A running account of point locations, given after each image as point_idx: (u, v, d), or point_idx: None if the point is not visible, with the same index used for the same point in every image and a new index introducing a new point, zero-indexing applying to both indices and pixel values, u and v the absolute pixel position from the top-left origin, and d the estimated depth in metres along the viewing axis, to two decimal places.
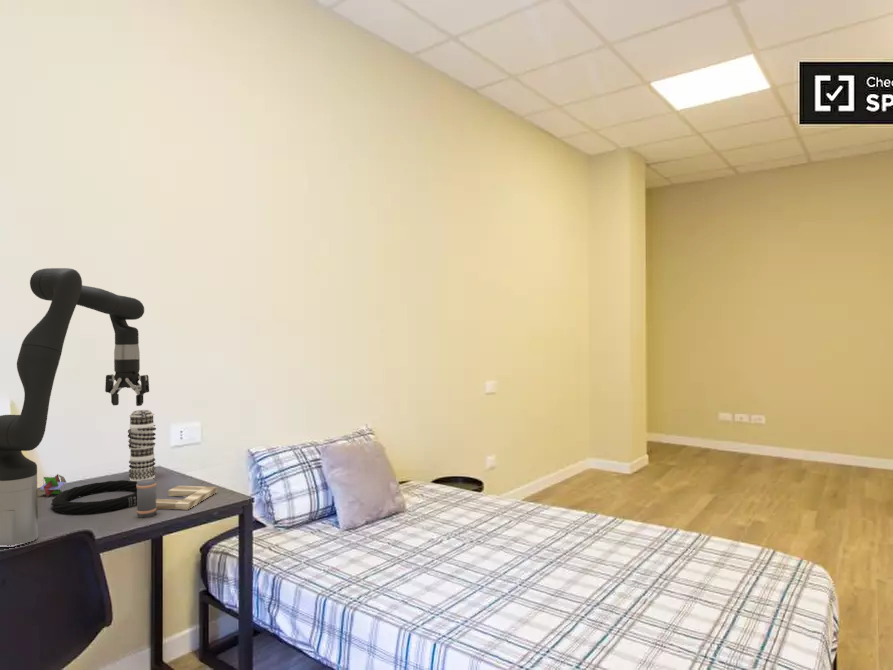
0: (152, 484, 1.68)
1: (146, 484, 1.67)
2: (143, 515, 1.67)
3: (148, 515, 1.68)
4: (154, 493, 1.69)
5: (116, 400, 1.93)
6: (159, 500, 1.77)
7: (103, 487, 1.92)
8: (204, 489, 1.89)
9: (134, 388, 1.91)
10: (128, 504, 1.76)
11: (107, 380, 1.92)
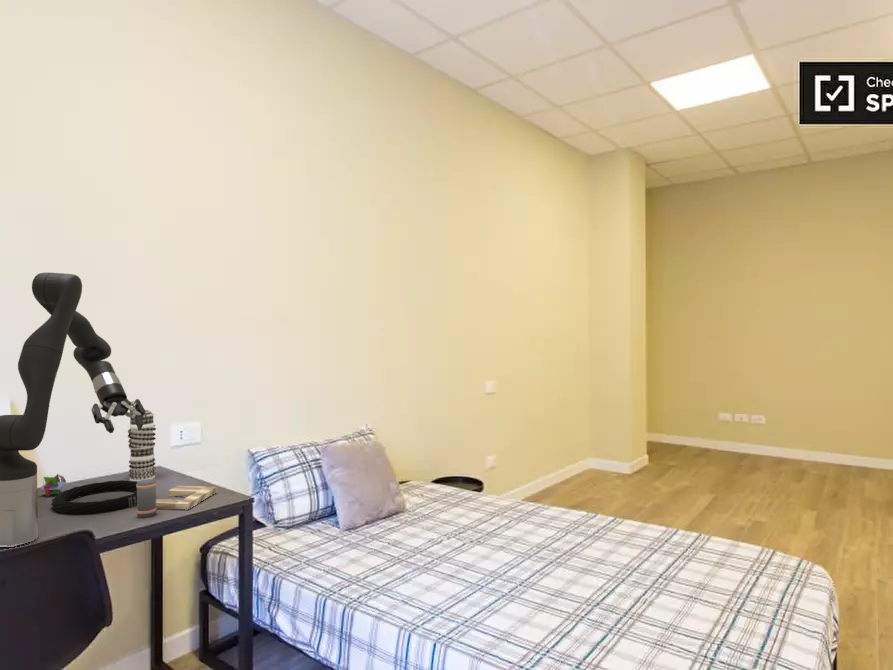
0: (152, 484, 1.68)
1: (146, 484, 1.67)
2: (143, 515, 1.67)
3: (148, 515, 1.68)
4: (154, 493, 1.69)
5: None
6: (159, 500, 1.77)
7: (103, 487, 1.92)
8: (204, 489, 1.89)
9: (133, 409, 1.80)
10: (128, 504, 1.76)
11: (97, 408, 1.73)
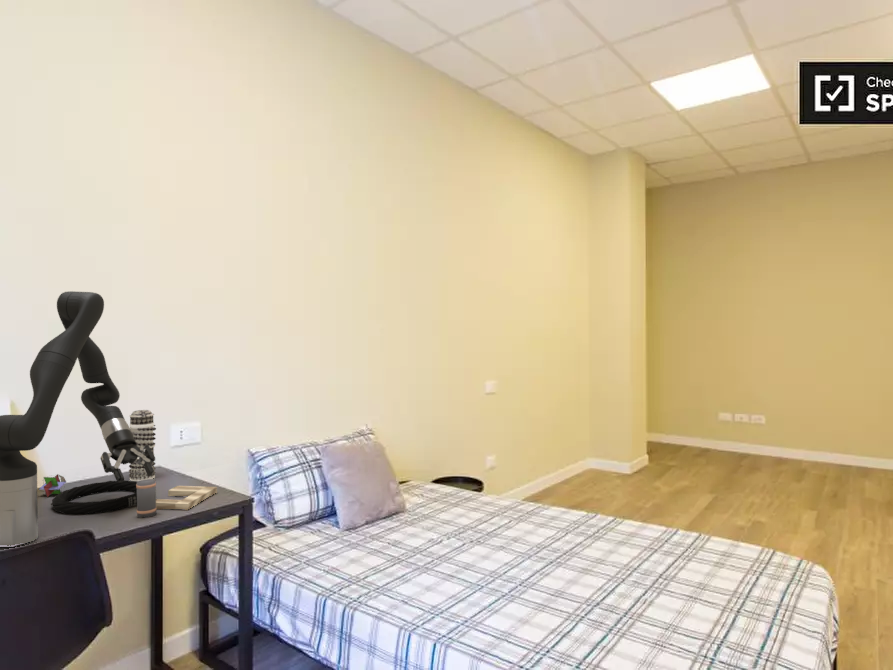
0: (152, 484, 1.68)
1: (146, 484, 1.67)
2: (143, 515, 1.67)
3: (148, 515, 1.68)
4: (154, 493, 1.69)
5: None
6: (159, 500, 1.77)
7: (103, 487, 1.92)
8: (204, 489, 1.89)
9: (143, 456, 1.77)
10: (128, 504, 1.76)
11: (106, 456, 1.70)
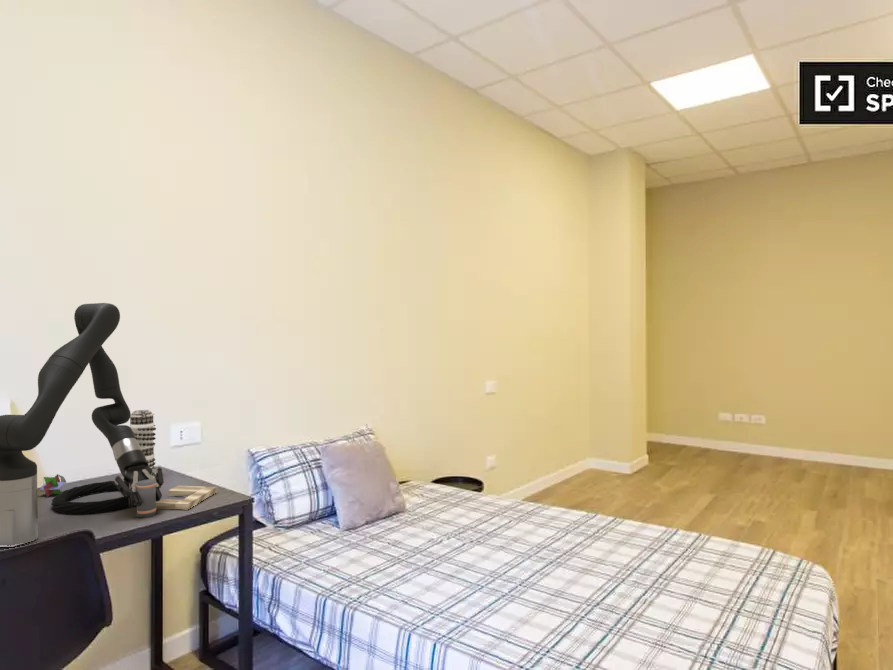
0: (152, 484, 1.68)
1: (146, 484, 1.67)
2: (143, 515, 1.67)
3: (148, 515, 1.68)
4: (154, 493, 1.69)
5: None
6: None
7: (103, 487, 1.92)
8: (204, 489, 1.89)
9: None
10: (128, 504, 1.76)
11: (120, 480, 1.66)
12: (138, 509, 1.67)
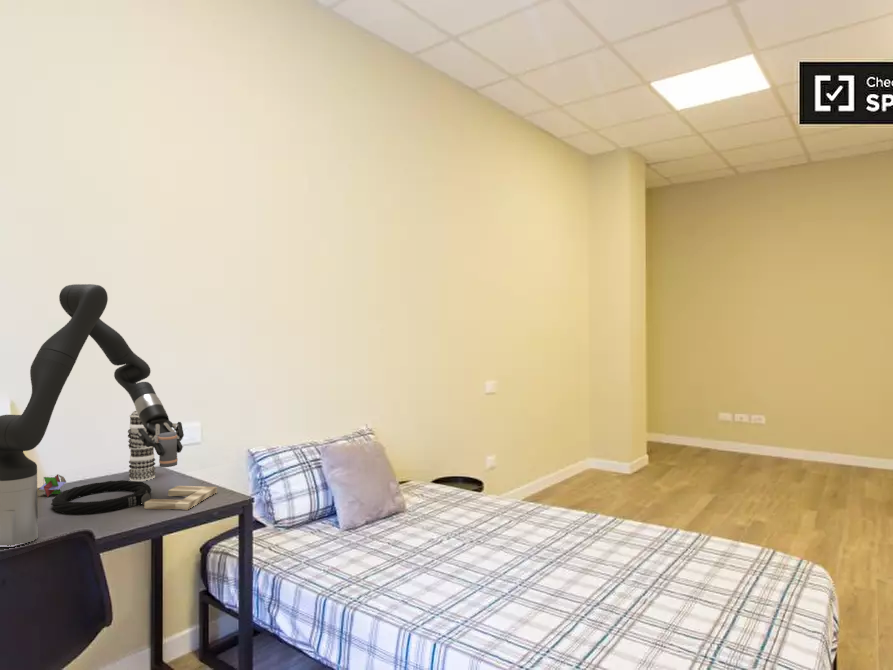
0: (173, 436, 1.77)
1: (168, 436, 1.76)
2: (165, 465, 1.76)
3: (170, 465, 1.77)
4: (175, 444, 1.78)
5: None
6: (159, 500, 1.77)
7: (103, 487, 1.92)
8: (204, 489, 1.89)
9: None
10: (128, 504, 1.76)
11: (144, 432, 1.75)
12: (160, 459, 1.77)
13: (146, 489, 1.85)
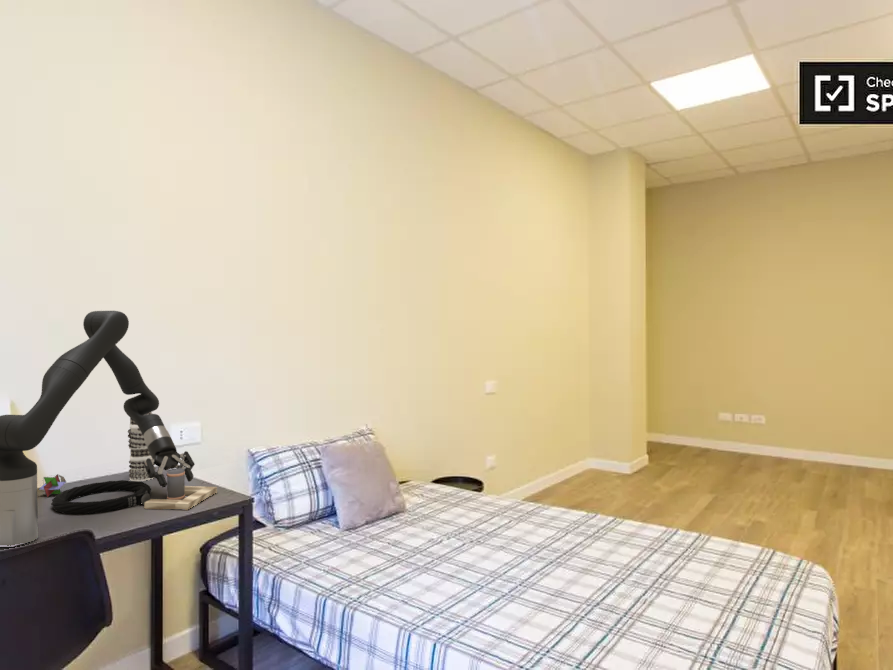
0: (181, 473, 1.81)
1: (176, 473, 1.80)
2: None
3: None
4: (183, 481, 1.82)
5: None
6: (159, 500, 1.77)
7: (103, 487, 1.92)
8: (204, 489, 1.89)
9: (183, 462, 1.86)
10: (128, 504, 1.76)
11: (150, 463, 1.79)
12: (168, 496, 1.80)
13: (146, 489, 1.85)
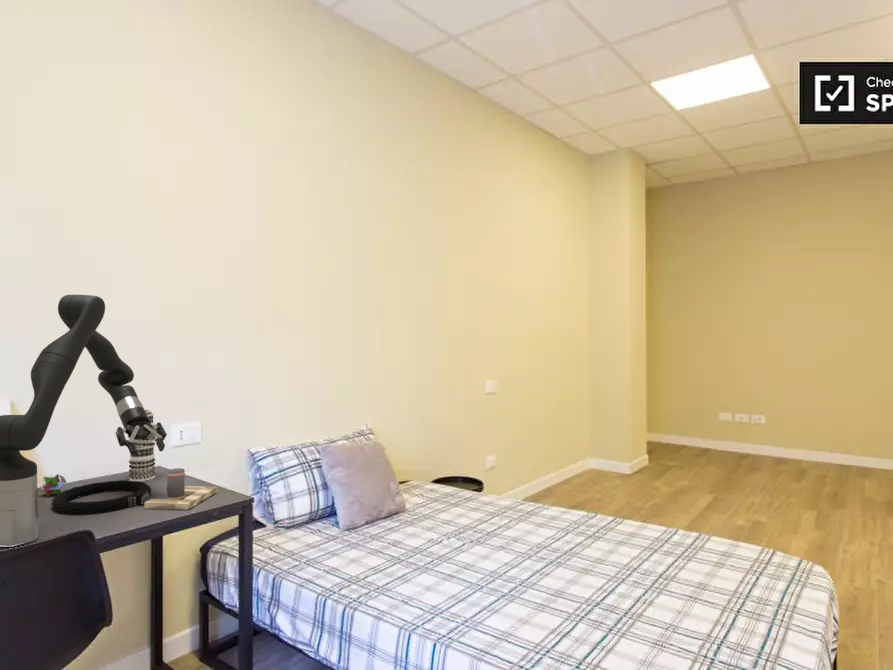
0: (181, 472, 1.81)
1: (176, 473, 1.80)
2: None
3: None
4: (183, 481, 1.82)
5: None
6: (159, 500, 1.77)
7: (103, 487, 1.92)
8: (204, 489, 1.89)
9: (155, 432, 1.87)
10: (128, 504, 1.76)
11: (121, 431, 1.80)
12: (168, 496, 1.80)
13: (146, 489, 1.85)
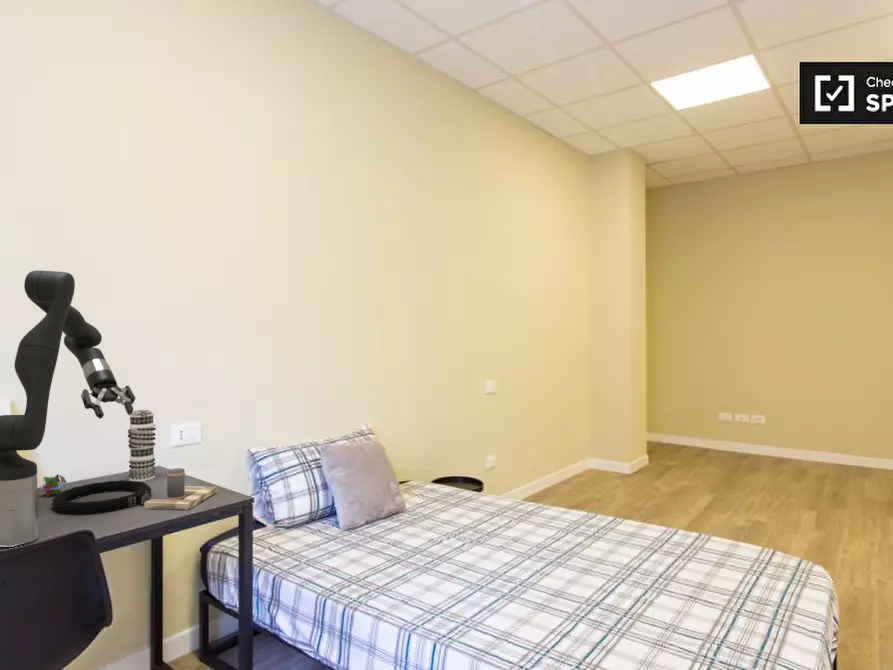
0: (181, 472, 1.81)
1: (176, 473, 1.80)
2: None
3: None
4: (183, 481, 1.82)
5: None
6: (159, 500, 1.77)
7: (103, 487, 1.92)
8: (204, 489, 1.89)
9: (123, 396, 1.81)
10: (128, 504, 1.76)
11: (86, 393, 1.74)
12: (168, 496, 1.80)
13: (146, 489, 1.85)
